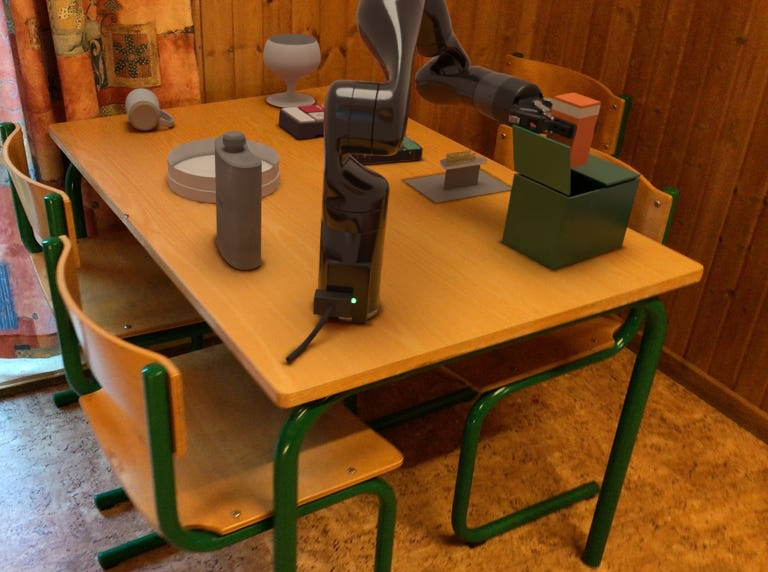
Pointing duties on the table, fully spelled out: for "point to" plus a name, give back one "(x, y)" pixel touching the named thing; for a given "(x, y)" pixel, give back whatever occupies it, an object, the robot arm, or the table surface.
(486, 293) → the table surface
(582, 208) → the green flap box
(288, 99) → the chalice
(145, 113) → the ceramic mug
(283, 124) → the dark box with panels
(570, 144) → the block
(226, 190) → the flask
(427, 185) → the platform
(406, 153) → the disk drive
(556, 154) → the green box lid flap
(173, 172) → the dish
